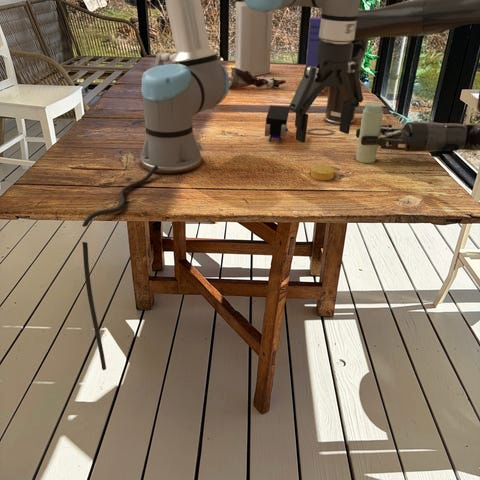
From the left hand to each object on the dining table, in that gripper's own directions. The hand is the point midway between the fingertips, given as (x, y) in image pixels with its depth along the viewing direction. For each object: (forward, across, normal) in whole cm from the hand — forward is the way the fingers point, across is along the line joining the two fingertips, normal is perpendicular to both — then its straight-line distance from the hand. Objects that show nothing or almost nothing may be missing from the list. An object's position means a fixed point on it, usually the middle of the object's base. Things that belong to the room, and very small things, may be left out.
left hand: (322, 136), depth 113 cm
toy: (+13, +30, +129) cm, 133 cm away
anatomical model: (+11, +54, +63) cm, 84 cm away
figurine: (+12, +32, +82) cm, 89 cm away
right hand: (+3, +15, +3) cm, 16 cm away
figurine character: (+10, +8, +28) cm, 31 cm away
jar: (+10, +18, +1) cm, 20 cm away
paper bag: (+12, +51, +105) cm, 118 cm away
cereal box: (+11, +72, +80) cm, 108 cm away
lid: (+8, 0, -1) cm, 8 cm away
